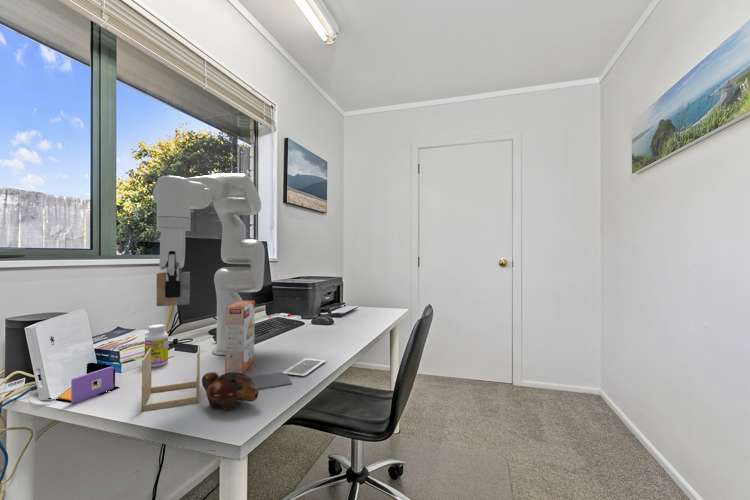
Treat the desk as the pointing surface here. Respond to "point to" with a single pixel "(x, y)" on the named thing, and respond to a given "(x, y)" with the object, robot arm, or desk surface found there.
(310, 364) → the touchpad
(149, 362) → the wooden rack
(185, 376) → the desk surface
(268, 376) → the rubber mat
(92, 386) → the toy room diorama
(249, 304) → the cracker box
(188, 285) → the box
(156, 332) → the supplement bottle
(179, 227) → the robot arm
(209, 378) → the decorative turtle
